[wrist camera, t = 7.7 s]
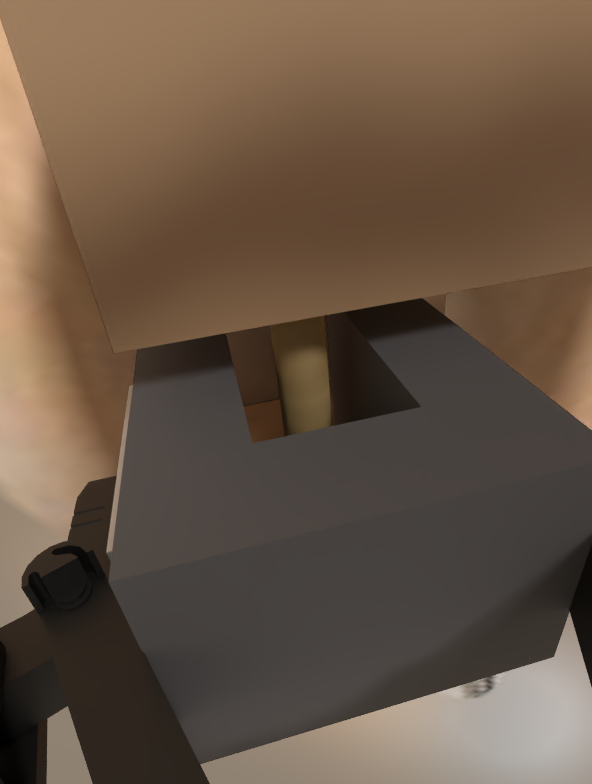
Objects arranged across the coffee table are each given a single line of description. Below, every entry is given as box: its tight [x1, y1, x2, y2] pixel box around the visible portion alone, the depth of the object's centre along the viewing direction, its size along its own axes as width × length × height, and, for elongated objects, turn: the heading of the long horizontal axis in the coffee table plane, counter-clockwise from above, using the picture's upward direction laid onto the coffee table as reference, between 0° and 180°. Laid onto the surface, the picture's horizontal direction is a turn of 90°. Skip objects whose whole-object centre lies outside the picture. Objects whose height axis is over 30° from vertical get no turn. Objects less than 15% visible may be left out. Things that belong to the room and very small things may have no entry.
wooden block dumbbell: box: [0, 0, 592, 443], centre depth 17 cm, size 24×12×11 cm, turn 5°
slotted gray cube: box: [108, 298, 592, 764], centre depth 13 cm, size 6×8×9 cm
